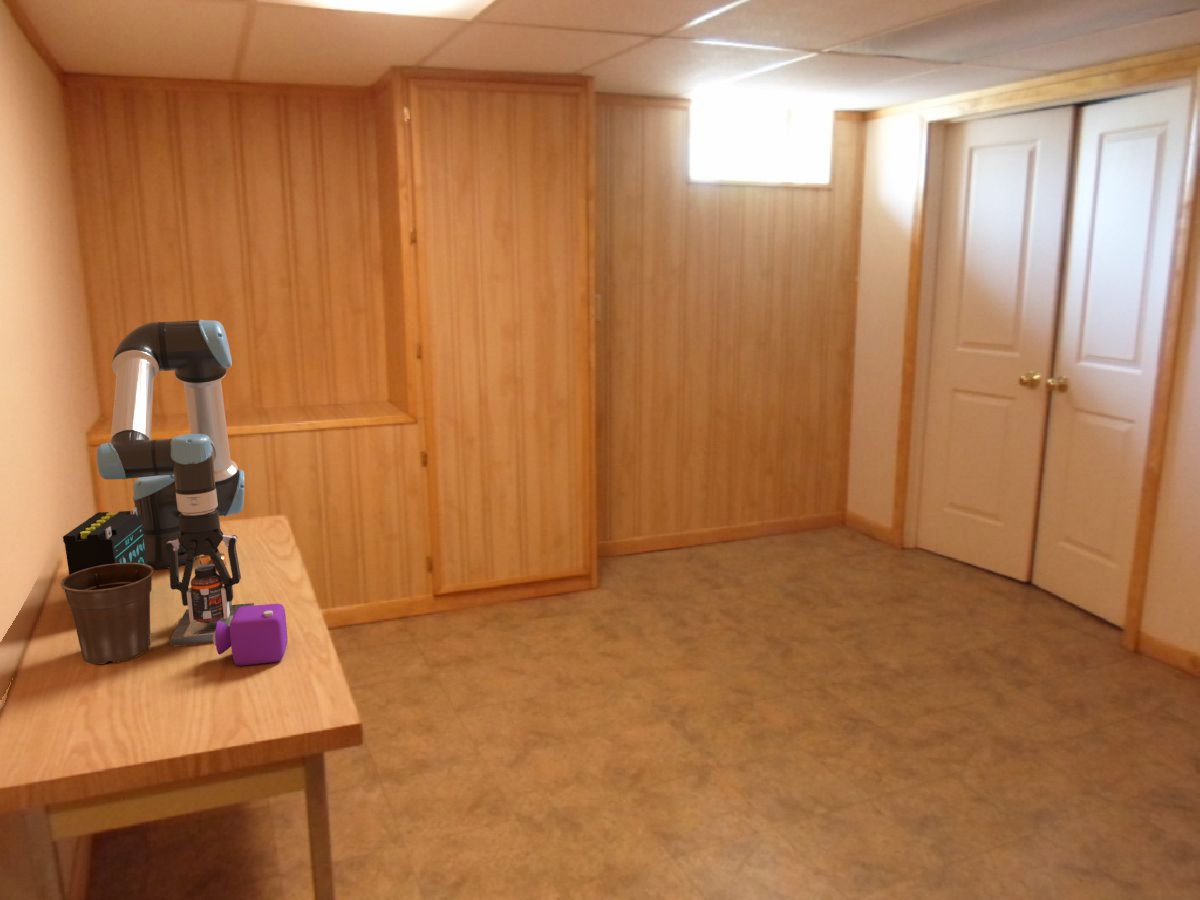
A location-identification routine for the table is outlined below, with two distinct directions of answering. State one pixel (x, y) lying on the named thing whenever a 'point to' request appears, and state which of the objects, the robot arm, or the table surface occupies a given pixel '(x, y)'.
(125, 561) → the battery
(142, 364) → the robot arm
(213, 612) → the supplement bottle
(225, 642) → the toy camera
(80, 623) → the plant pot
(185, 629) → the base
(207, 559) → the plunger
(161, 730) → the table surface
